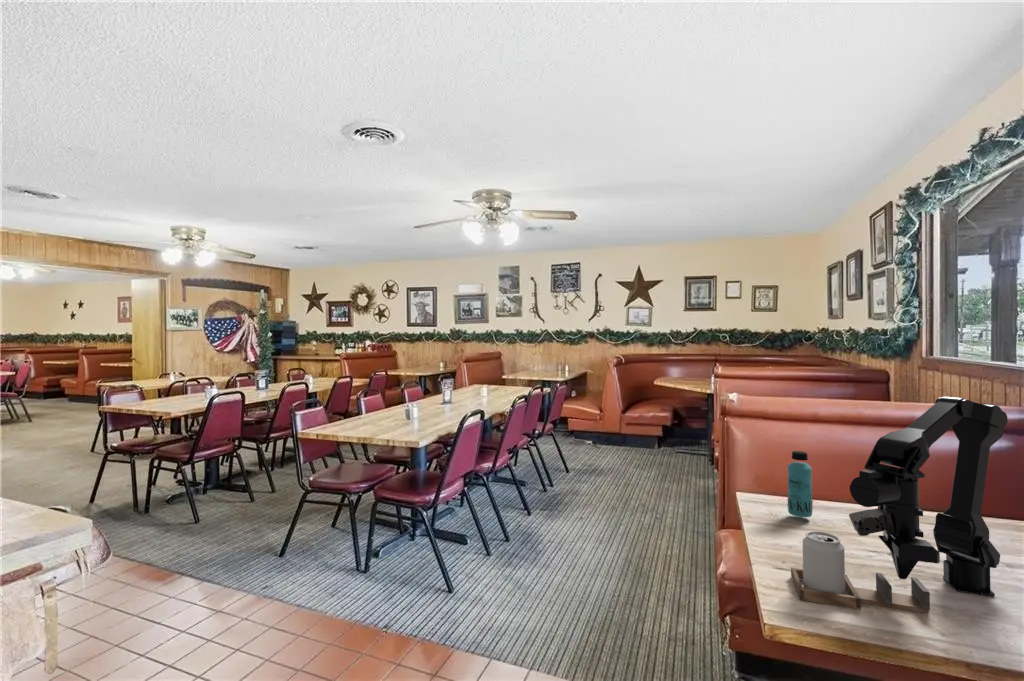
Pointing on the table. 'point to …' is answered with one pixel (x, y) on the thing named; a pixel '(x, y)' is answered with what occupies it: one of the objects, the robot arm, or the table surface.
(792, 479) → the beverage bottle
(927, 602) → the wooden frame
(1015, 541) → the table surface
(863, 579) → the table surface
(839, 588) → the can
